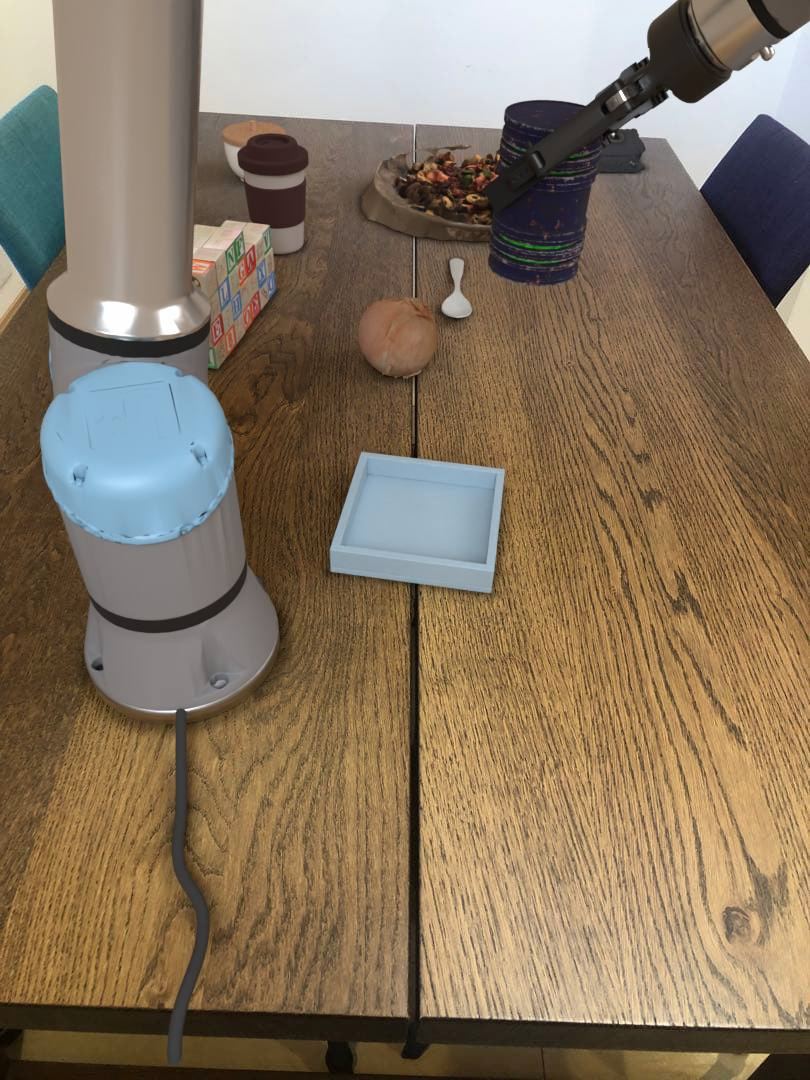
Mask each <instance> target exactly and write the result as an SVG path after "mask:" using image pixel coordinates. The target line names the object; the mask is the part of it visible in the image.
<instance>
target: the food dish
mask: <svg viewBox="0 0 810 1080" xmlns="http://www.w3.org/2000/svg"><path fill="white" fill-rule="evenodd" d="M470 148H471V149H472V148H473V145H472V144H470V143H469V144H467V143H465V144H464V145H463V144H457V145H456V144H455V145H446V146H444V147H437V146H433V147H424V148H418V149H415V150H413V152H414V153H417V152H423V151H424V152H429V153H431V154H430V155H428V156H427V157H426V158H425V159H424V161H423V162H421V161H416V162H413V163H412V165H411V166H409V165H408V163H407V155H410V151H407V152H405V151H404V152H402V153H398V154H395V155H393V156H391V157H390V158H389V159H383V160H381V161H380V162H379V164H378V166H377V169H376V171H375V172H374V175H373V177H372V179H371V181H370V184H369V186H368V187H367V189H366V191H365V193H363V195H362V196H361V200H362V201H361V210H362V211H363V213H364V215H365V216H366V217H367V220H370V221H373V222H377V223H379V224H382V225H384V226H387V227H388V228H390V229H392V230H395V231H397V232H401V233H403V234H406V235H409V236H412V237H416V238H426V237H427V238H430V239H434V240H438V241H448V240H452V241H455V240H456V241H462V242H463V241H466V242H470V243H471V242H475V241H476V242H481V241H483V242H490V229H491V225H492V218H493V212H494V208H493V206H492V205H491V203H490V201H489V200H488V198H487V196H486V195H485V193H484V191H483V190H482V189H483V188H484V187H485V186H486V185H488V184H489V183H490V182H491V181H493V180H494V179H495V178H496V177H498V176H499V175H500V174H499V172H498V161H499V157H500V152H499V149H500V148H498V150H496V151H495V156H494V155H493V154H492V153H491V152H490V153H488V154H486V156H485V157H483V158H482V157H481V156H480V154H475V155H474V156H473V157H467V158H465V159H464V160H463V161H462V162H461V164H457V162H454V161H455V157H456V156H455V154H454V153H453V151H456V150H460V151H461V150H467V149H470ZM443 149H444V150H449V151H444V152H441V153H439V154H438V152H439V151H440V150H443ZM451 151H452V152H451ZM437 154H438V155H437Z"/></svg>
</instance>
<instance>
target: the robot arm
mask: <svg viewBox="0 0 810 1080" xmlns="http://www.w3.org/2000/svg"><path fill="white" fill-rule="evenodd" d="M51 4H52V6H51V7H52V19H53V23H52V24H53V38H54V54H55V55H54V57H55V74H56V92H57V93H56V94H57V109H58V110H57V111H58V126H59V143H60V144H59V145H60V162H61V163H60V164H61V179H62V180H61V181H62V197H63V198H62V199H63V214H64V215H63V217H64V231H65V232H64V233H65V248H66V249H65V250H66V252H65V253H66V267H67V269H66V270H64V271H63V272H62V273H60V275H58V276H57V277H55V279H53V281H51V283H50V284H49V285H48V287H47V289H46V309H47V310H46V311H47V323H48V337H49V339H48V340H49V348H48V365H49V372H50V377H51V382H52V395H53V396H52V397H53V399H52V401H51V402H50V404H49V406H48V407H47V410H46V412H45V413H44V416H43V419H42V421H41V426H40V434H39V444H40V452H41V461H42V462H41V463H42V472H43V476H44V479H45V481H46V484H47V487H48V488H49V490H50V491H51V494H52V496H53V499H54V501H55V503H56V504H57V506H58V510H59V513H60V516H61V518H62V521H63V523H64V527H65V530H66V533H67V536H68V539H69V541H70V544H71V547H72V550H73V553H74V556H75V559H76V562H77V565H78V568H79V570H80V574H81V576H82V577H81V578H82V580H83V582H84V585H85V587H86V591H87V593H88V596H89V607H88V615H87V621H86V629H85V636H84V645H83V656H84V663H85V667H86V669H87V672H88V675H89V677H90V680H91V683H92V685H93V687H94V689H95V691H96V692H97V694H98V695H99V697H100V698H101V699H102V700H103V701H104V703H106V704H107V705H108V706H109V707H110V708H112V709H113V710H115V711H116V712H117V713H119V714H120V715H121V714H122V715H123V716H125V717H128V718H130V719H132V720H135V721H138V722H142V723H147V724H151V725H152V724H153V725H166V726H167V725H170V726H173V725H175V743H174V744H175V751H174V753H175V754H174V755H175V757H174V759H175V762H174V765H175V766H174V767H175V768H174V769H175V771H174V772H175V773H174V774H175V778H174V779H175V795H174V796H175V806H174V807H175V808H174V821H173V827H172V828H173V829H172V835H171V861H172V862H171V863H172V868H173V872H174V874H175V877H176V879H177V881H178V882H179V885H180V886H181V888H182V890H183V892H184V893H185V894H186V896H187V897H188V899H189V901H190V902H191V905H192V907H193V909H194V913H195V917H196V918H195V919H196V933H195V940H194V945H193V949H192V953H191V955H190V959H189V962H188V964H187V968H186V970H185V973H184V975H183V977H182V981H181V983H180V986H179V988H178V992H177V993H176V997H175V1001H174V1003H173V1007H172V1011H171V1014H170V1021H169V1024H168V1032H167V1033H168V1034H167V1045H166V1047H167V1048H166V1060H167V1062H168V1066H171V1067H175V1066H178V1065H179V1063H180V1062H181V1060H182V1055H183V1036H184V1027H185V1021H186V1016H187V1012H188V1008H189V1005H190V1002H191V999H192V995H193V993H194V990H195V988H196V985H197V981H198V979H199V976H200V973H201V971H202V969H203V965H204V962H205V959H206V955H207V951H208V945H209V940H210V924H211V923H210V912H209V911H210V910H209V906H208V903H207V900H206V897H205V895H204V894H203V892H202V890H201V889H200V887H199V886H198V884H197V883H196V881H195V880H194V878H193V876H192V875H191V873H190V872H189V868H188V866H187V864H186V860H185V859H186V858H185V851H184V850H185V849H184V845H185V835H186V826H187V818H188V817H187V814H188V769H187V768H188V767H187V766H188V765H187V764H188V763H187V762H188V761H187V756H188V755H187V754H188V753H187V751H188V750H187V748H188V747H187V746H188V745H187V743H188V742H187V741H188V740H187V737H188V736H187V732H188V731H187V724H192V723H196V722H202V721H204V720H207V719H210V718H213V717H216V716H218V715H221V714H223V713H225V712H228V711H229V710H231V709H233V708H234V707H236V706H238V705H239V704H241V703H242V702H243V701H245V700H246V699H248V698H249V697H250V696H251V695H253V694H254V693H255V692H256V691H257V690H258V689H259V688H260V687H261V686H262V684H263V683H264V682H265V681H266V680H267V678H268V676H269V675H270V674H271V672H272V670H273V669H274V668H273V667H274V666H275V664H276V661H277V658H278V655H279V651H280V644H281V642H280V640H281V639H280V628H279V619H278V614H277V610H276V607H275V604H274V603H273V601H272V600H271V598H270V596H269V595H268V593H267V592H266V591H265V587H264V585H263V581H262V579H261V578H260V577H258V576H257V575H255V573H254V572H253V570H252V569H251V567H250V565H249V564H248V560H247V553H246V545H245V537H244V532H243V525H242V517H241V512H240V504H239V497H238V491H237V483H236V477H235V470H234V469H235V446H234V439H233V434H232V431H231V428H230V425H229V422H228V420H227V418H226V415H225V412H224V410H223V407H222V405H221V403H220V401H219V400H218V398H217V396H216V395H215V393H214V392H213V390H211V389H210V386H209V368H208V358H209V341H210V322H211V304H210V301H209V299H208V298H207V296H206V295H205V294H204V293H203V291H202V290H201V289H200V288H199V287H198V286H197V285H196V284H195V283H194V282H193V281H192V267H193V244H194V226H195V220H196V219H195V218H196V196H197V195H196V194H197V173H198V172H197V171H198V151H199V149H198V148H199V130H200V129H199V127H200V102H201V81H202V57H203V36H204V35H203V34H204V11H205V0H51ZM808 23H810V0H676V1H674V2H673V3H672V4H671V5H670V6H669V7H667V9H665V10H664V11H663V12H662V13H660V14H659V15H658V16H657V17H656V18H655V19H653V20H652V22H651V23H650V24H649V26H648V29H647V32H646V44H647V48H648V50H649V51H648V52H649V56H645V57H644V58H642V59H640V61H638V62H637V61H634V62H633V63H632V64H630V65H629V66H628V67H627V68H625V69H624V70H622V71H621V73H620V74H619V76H618V78H617V79H615V80H613V82H611V83H609V84H608V85H607V86H606V87H605V88H602V89H601V90H600V91H599V92H597V94H595V97H594V99H592V100H591V101H590V102H589V103H587V104H586V105H585V107H584V108H582V109H581V110H580V111H578V112H577V113H576V114H575V115H573V116H572V117H571V118H569V119H568V120H567V121H565V122H564V123H563V124H561V125H560V126H559V127H558V128H556V129H555V130H554V131H552V132H551V133H550V134H548V135H547V136H546V137H545V138H543V139H542V140H541V141H539V142H538V143H537V144H535V145H534V146H532V144H531V143H530V141H528V142H527V143H526V144H524V146H525V148H526V150H527V151H525V153H524V154H525V155H524V156H522V157H521V158H520V159H519V160H517V161H516V162H515V163H514V164H512V165H511V166H510V167H509V168H507V169H506V170H505V171H504V172H503V173H501V174H500V175H499V176H498V177H496V178H495V179H494V180H493V181H491V182H490V183H489V184H488V185H486V186H485V187H484V188H483V189H482V190H483V191H484V193H485V195H486V196H487V198H488V200H489V201H490V203H491V205H492V206H493V208H494V210H495V211H496V213H499V212H500V211H502V210H503V209H504V208H506V207H507V206H508V205H509V204H511V203H512V202H513V201H515V200H516V199H517V198H519V197H520V196H521V195H523V194H524V193H525V192H527V191H528V190H529V189H531V188H532V187H533V186H534V185H536V184H537V183H538V182H540V181H541V180H542V179H544V178H545V177H546V176H548V175H549V173H551V170H552V169H554V168H555V167H556V166H558V165H559V164H561V163H562V162H563V161H565V160H566V159H568V158H569V157H570V156H572V155H573V154H575V153H576V152H577V151H579V150H580V149H581V148H583V147H584V146H586V145H587V144H588V143H590V142H591V141H593V140H594V139H595V138H597V137H598V136H600V135H601V134H603V141H602V146H601V147H602V149H604V148H605V147H607V146H608V145H610V144H611V143H612V141H611V140H610V138H609V135H610V134H612V135H613V134H615V133H616V132H618V131H619V129H622V128H623V127H624V126H625V125H626V124H627V123H629V122H631V121H632V120H633V119H638V118H640V117H641V116H644V115H645V114H647V113H648V112H650V111H651V110H654V109H655V108H657V107H659V106H660V105H661V104H663V103H664V102H665V101H666V100H668V99H669V98H670V96H669V93H668V92H669V91H671V94H672V95H673V96H674V97H675V98H677V99H678V100H679V101H681V102H683V103H685V104H696V103H698V102H701V100H703V99H704V98H706V97H707V96H708V95H710V94H711V93H712V92H714V91H715V90H716V89H718V88H719V87H721V86H722V85H723V84H725V83H726V82H728V81H729V80H730V79H731V76H732V74H733V72H740V71H742V70H743V69H744V68H747V66H749V65H750V64H752V63H754V61H756V60H757V59H758V58H759V57H760V58H761V59H762V60H763V61H764V62H768V61H770V60H771V59H773V58H774V56H775V54H776V51H775V49H774V47H773V46H775V45H778V44H779V43H781V42H782V41H783V40H785V39H786V38H788V37H790V36H791V35H793V34H794V33H795V32H797V31H798V30H799V29H801V28H802V27H804V26H805V25H806V24H808Z"/></svg>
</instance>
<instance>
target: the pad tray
mask: <svg viewBox="0 0 810 1080" xmlns="http://www.w3.org/2000/svg"><path fill="white" fill-rule="evenodd" d="M358 457H359V458H358V460H357V464H356V467H355V470H354V472H353V476H352V479H351V482H350V486H349V489H348V492H347V495H346V498H345V501H344V504H343V506H342V509H341V513H340V516H339V520H338V523H337V526H336V529H335V532H334V534H333V539H332V541H331V545H330V547H329V563H330V564H329V567H330V570H329V571H330V572H331V573H338V574H345V575H352V576H359V577H365V578H366V577H367V578H375V579H381V580H387V581H388V580H389V581H398V582H403V583H409V584H418V585H425V586H434V587H441V588H449V589H455V590H462V591H470V592H477V593H484V594H485V593H486V594H491V593H492V589H493V583H494V576H495V569H496V568H495V567H496V559H497V549H498V542H499V541H498V539H499V529H500V523H501V522H500V521H501V513H502V503H503V494H504V492H503V491H504V483H505V473H506V469H505V468H499V467H490V466H482V465H474V464H468V463H467V464H466V463H458V462H448V461H441V460H433V459H427V458H426V459H425V458H416V457H409V456H400V455H392V454H385V453H383V454H382V453H376V452H375V453H374V452H367V451H361V452H360V454H359V456H358Z"/></svg>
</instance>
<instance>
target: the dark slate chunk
mask: <svg viewBox="0 0 810 1080" xmlns="http://www.w3.org/2000/svg"><path fill="white" fill-rule="evenodd" d="M609 138H610V140H611V141H612V143H611V144H610V145H608V146H607V147H605V148H604V149H602V152H601V157H600V162H599V164H598V168H597V170H598V173H599V174H600V173H601V174H602V173H603V174H604V173H615V174H616V173H620V174H621V173H625V174H626V173H633V174H634V173H637V172H639V171H640V170H646V165H645V164H643V163H642V162H641V157H642V156H643V153H645V151H646V150H647V148H646V146H645V143H644V142H643V140H642V139H641V138H640V134H639V132H638V129H637V128H620V129H619V131H618V132H616V133H614V135H613V134H610V135H609Z"/></svg>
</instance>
